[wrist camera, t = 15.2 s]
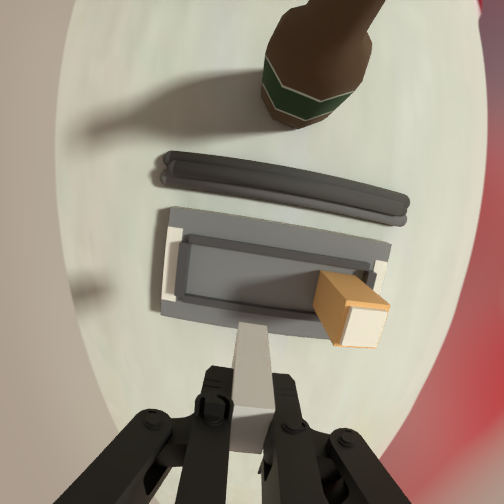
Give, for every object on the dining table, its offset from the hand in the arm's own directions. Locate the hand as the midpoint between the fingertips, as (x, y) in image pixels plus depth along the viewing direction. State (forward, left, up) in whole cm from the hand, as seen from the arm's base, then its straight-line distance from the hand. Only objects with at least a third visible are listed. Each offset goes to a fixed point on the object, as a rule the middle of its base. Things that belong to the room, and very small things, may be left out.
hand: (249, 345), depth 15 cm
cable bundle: (-9, +3, -17) cm, 20 cm away
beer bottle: (-19, +2, -17) cm, 26 cm away
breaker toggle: (+1, +9, -15) cm, 18 cm away
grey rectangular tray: (+1, +3, -17) cm, 17 cm away
